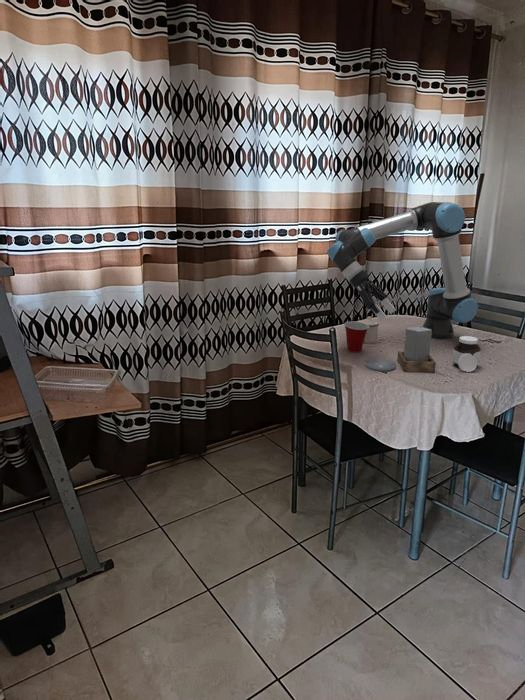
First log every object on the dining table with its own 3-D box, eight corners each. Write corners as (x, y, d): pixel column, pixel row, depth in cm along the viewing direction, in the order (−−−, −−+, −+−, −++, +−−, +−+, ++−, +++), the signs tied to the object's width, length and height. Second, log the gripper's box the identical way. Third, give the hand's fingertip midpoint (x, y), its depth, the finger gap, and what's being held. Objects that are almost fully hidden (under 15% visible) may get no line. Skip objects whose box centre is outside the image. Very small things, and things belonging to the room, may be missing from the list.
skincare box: (413, 370, 193) (417, 332, 188) (401, 365, 199) (404, 327, 194) (429, 367, 197) (434, 329, 192) (416, 362, 203) (420, 325, 198)
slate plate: (392, 361, 203) (393, 358, 203) (398, 371, 192) (398, 368, 191) (363, 360, 204) (363, 358, 203) (367, 371, 192) (367, 368, 192)
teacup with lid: (377, 338, 234) (379, 315, 231) (377, 344, 226) (379, 319, 222) (351, 337, 236) (353, 313, 233) (351, 342, 228) (352, 318, 224)
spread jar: (468, 361, 203) (472, 334, 200) (488, 370, 193) (492, 342, 190) (444, 364, 200) (447, 337, 196) (463, 374, 190) (467, 345, 186)
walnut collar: (426, 361, 203) (427, 352, 202) (434, 372, 191) (435, 362, 190) (397, 360, 204) (398, 351, 203) (403, 371, 192) (404, 361, 191)
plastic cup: (362, 355, 210) (364, 328, 206) (338, 351, 215) (340, 325, 212) (371, 349, 219) (373, 323, 215) (348, 345, 224) (349, 319, 220)
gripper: (359, 276, 212) (390, 314, 210) (338, 285, 192) (372, 327, 189) (372, 265, 208) (403, 304, 206) (352, 273, 188) (387, 316, 185)
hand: (388, 315), depth 198 cm, fingers open, 13 cm apart
